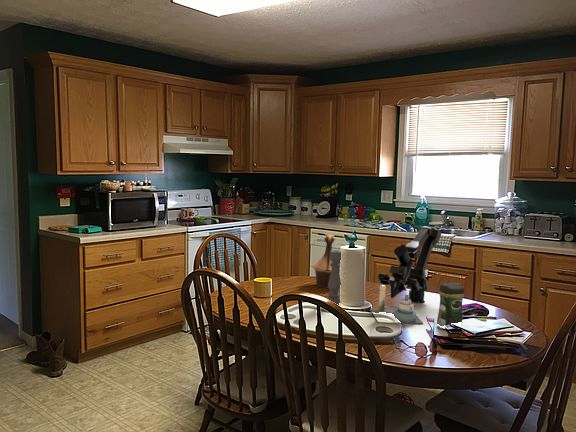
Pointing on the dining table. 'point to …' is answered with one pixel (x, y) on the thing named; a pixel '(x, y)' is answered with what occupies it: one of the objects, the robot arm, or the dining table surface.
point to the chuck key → (403, 306)
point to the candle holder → (334, 277)
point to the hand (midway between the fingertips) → (391, 297)
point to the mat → (394, 312)
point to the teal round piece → (405, 316)
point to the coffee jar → (450, 303)
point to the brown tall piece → (324, 264)
